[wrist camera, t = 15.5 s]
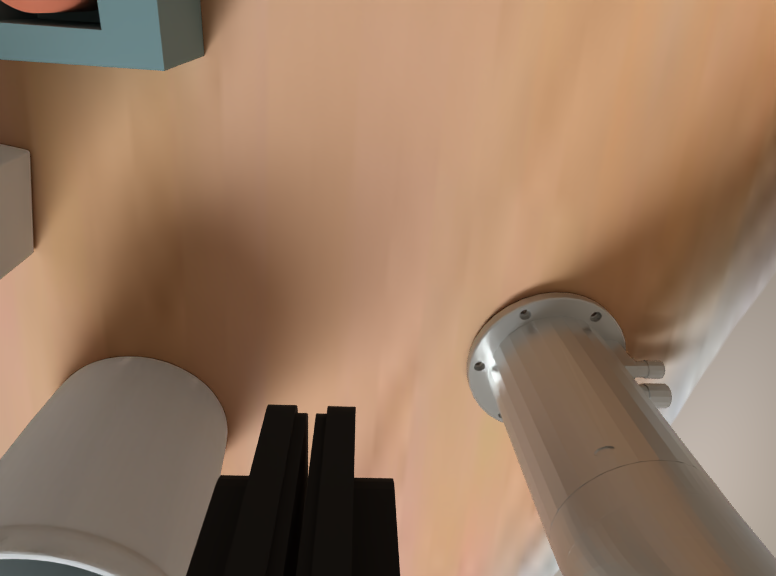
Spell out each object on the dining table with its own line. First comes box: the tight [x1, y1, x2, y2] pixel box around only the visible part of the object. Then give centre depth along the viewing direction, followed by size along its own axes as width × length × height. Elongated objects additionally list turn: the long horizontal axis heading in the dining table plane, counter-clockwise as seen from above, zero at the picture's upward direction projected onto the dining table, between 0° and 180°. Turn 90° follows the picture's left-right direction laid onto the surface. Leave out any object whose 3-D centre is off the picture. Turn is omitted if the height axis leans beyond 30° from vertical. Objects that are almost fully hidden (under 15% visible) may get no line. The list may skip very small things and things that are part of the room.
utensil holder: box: [0, 356, 228, 576], centre depth 36 cm, size 15×15×18 cm
